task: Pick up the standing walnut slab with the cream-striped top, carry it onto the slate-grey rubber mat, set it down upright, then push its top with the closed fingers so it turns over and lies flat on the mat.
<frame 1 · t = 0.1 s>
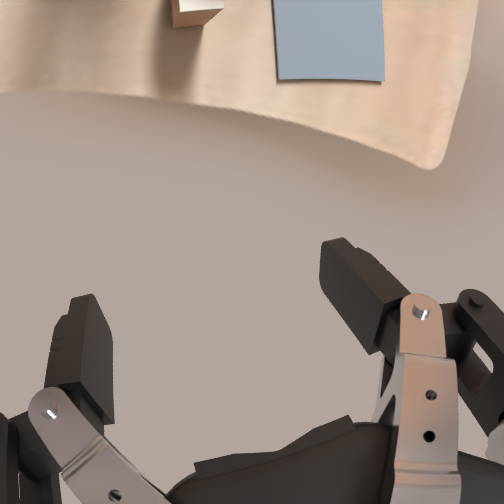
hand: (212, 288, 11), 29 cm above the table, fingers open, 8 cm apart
mat: (332, 15, 31), on the table
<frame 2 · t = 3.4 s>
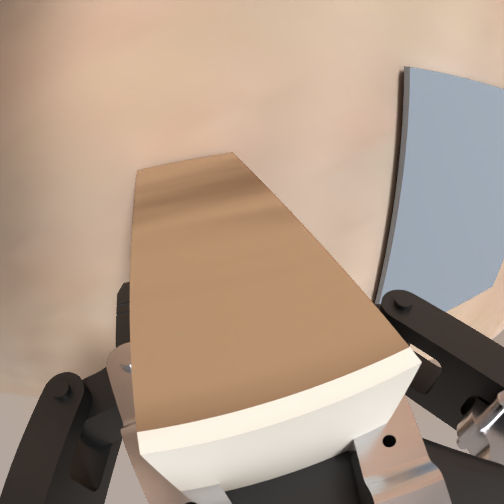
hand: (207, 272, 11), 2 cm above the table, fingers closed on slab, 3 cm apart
mat: (471, 213, 18), on the table
slab: (198, 241, 13), on the table, touching gripper
when the fingers open (4 cm above the table, at t = 8.1 s): slab drops 1 cm, resting on mat.
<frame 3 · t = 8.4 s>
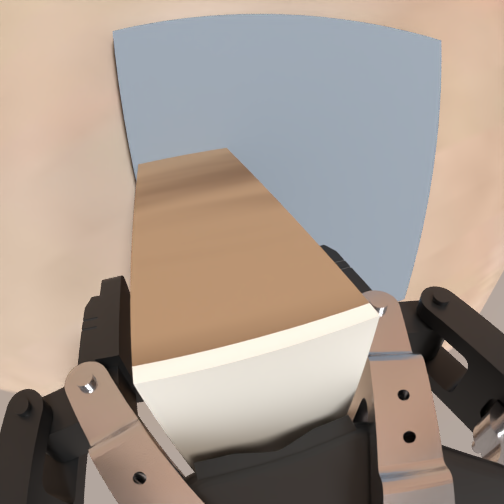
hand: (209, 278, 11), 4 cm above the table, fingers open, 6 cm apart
mat: (314, 202, 16), on the table
slab: (194, 231, 14), resting on mat
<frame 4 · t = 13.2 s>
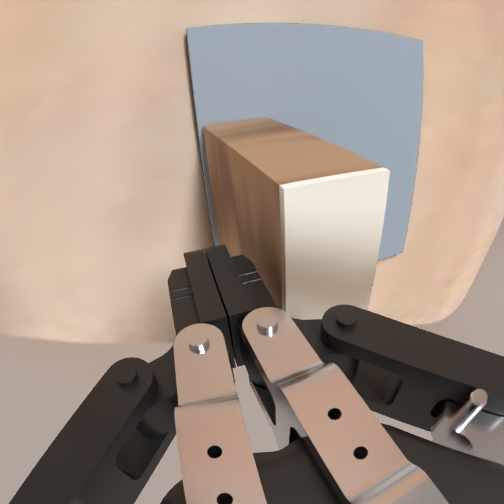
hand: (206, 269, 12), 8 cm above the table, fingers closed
mat: (327, 162, 20), on the table
slab: (240, 179, 18), resting on mat, touching gripper
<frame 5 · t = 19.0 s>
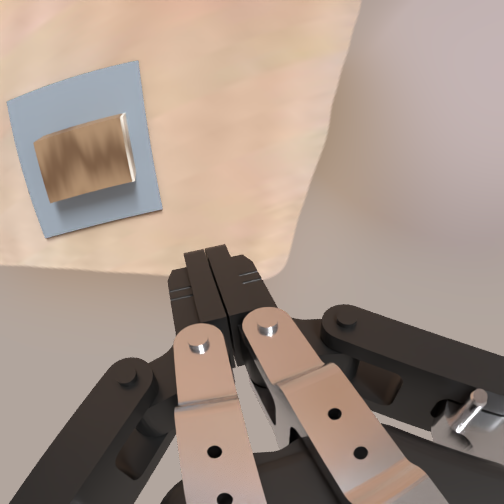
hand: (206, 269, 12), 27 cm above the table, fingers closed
mat: (82, 153, 31), on the table
slab: (45, 168, 29), point 2 cm above the table, tilted 90°, touching mat
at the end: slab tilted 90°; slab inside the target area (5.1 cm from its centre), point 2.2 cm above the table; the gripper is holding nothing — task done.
